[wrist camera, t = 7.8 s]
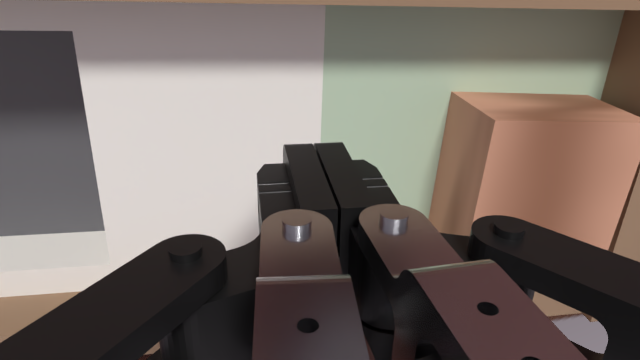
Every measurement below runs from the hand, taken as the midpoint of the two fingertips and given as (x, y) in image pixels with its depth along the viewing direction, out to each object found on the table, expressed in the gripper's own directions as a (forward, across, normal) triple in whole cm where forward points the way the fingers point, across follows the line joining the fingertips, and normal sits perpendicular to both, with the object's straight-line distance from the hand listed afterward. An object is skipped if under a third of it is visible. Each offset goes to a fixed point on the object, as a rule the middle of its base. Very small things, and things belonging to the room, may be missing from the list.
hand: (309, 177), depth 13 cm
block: (+4, -8, +2) cm, 8 cm away
